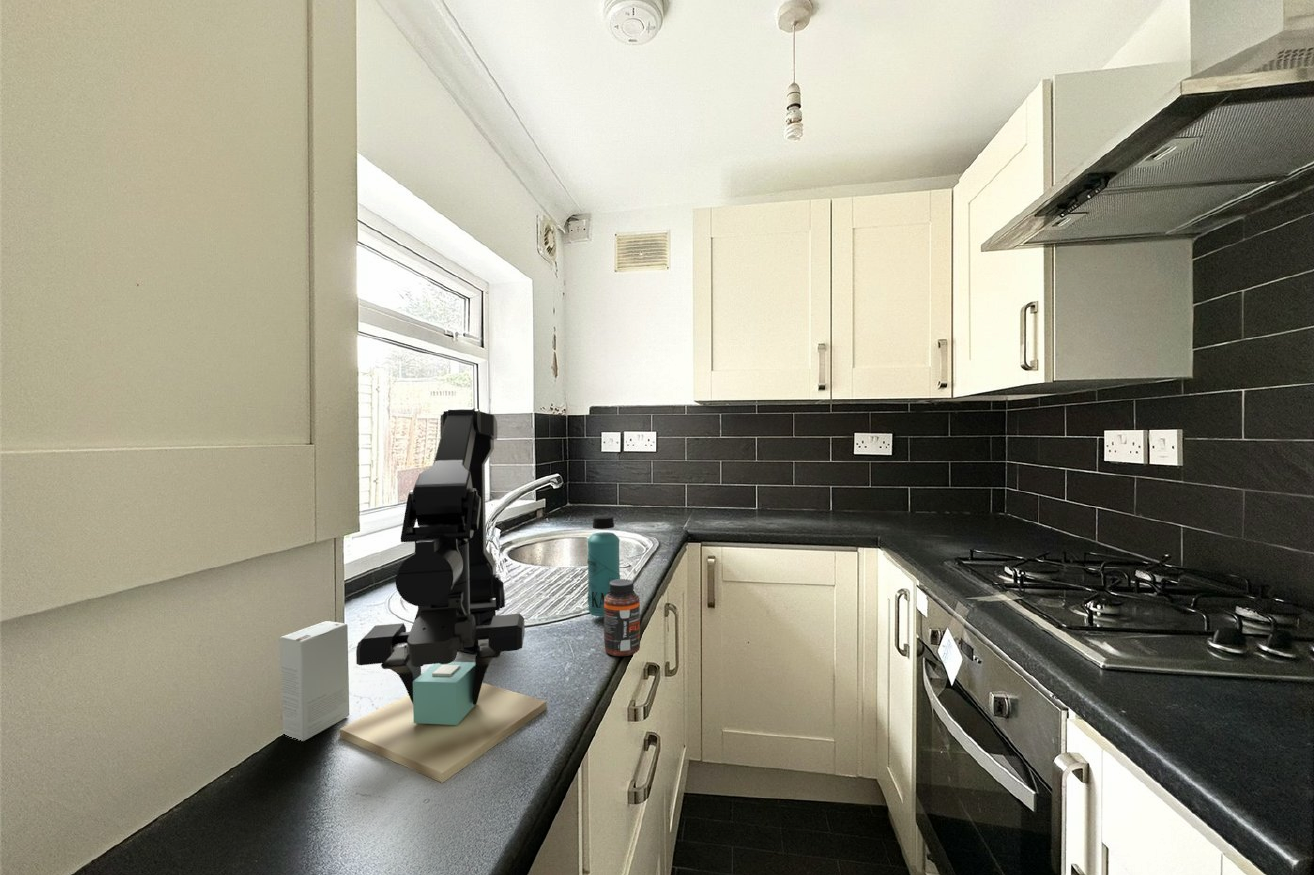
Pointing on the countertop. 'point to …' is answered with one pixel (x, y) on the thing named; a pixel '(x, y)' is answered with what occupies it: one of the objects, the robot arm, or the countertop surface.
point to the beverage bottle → (601, 564)
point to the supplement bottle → (621, 619)
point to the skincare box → (314, 678)
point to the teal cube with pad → (444, 693)
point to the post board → (443, 732)
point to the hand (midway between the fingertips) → (447, 706)
